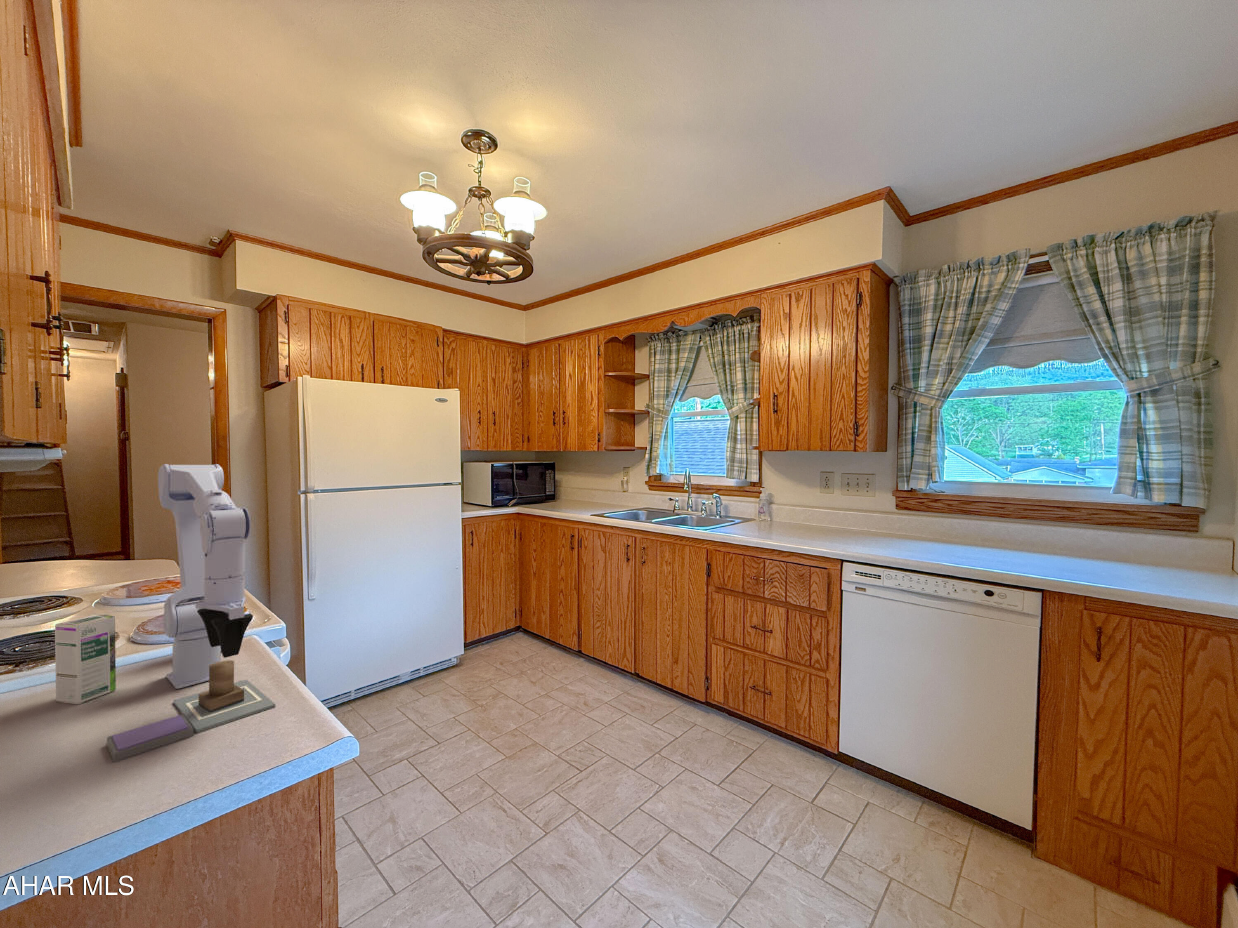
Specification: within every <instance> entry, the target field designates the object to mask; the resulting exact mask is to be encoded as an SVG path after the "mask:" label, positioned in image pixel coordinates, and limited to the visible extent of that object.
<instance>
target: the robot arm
mask: <svg viewBox="0 0 1238 928" xmlns="http://www.w3.org/2000/svg"><path fill="white" fill-rule="evenodd" d="M224 483H225V474H224V470H223V467H222V466H220V464H219V463H218V464H217V463H215V464H168V463H164V464H163V463H162V465H161V466H160V467H159V469H158V474H157V488H158V499H159V502H160V505H161V507H162V508H163V509H167V510H170V511H171V513H172V516H173V519H174V522H175V524H174V525H175V532H176V533H175V534H176V542H177V543H176V546H177V556H178V569H179V576H180V577H179V580H180V588H179V589H178V590H176V591H175V592H174V593H172V594H171V595H170V596H169V597H167V598H166V601H165V602H164V603H163V609H164V610H163V618H162V619H163V630H164V633H165V636H166V637H168V638H169V639H172V638H173V639H174V641H173V643H172V657H171V658H172V664H171V665H172V666H171V667H172V671H171V672H168V673H165V677H166V678H167V680H169V682H170V683H171V685H172V686H173V687H174V688H175V689H178V690H179V689H183V688H186V687H190V686H194V685H197V684H200V683H205V682H209V666H210V665H212V664H214V663H217V662H220V661H222V660H221V659H222V658H221V654H222V657H223V658H230V657H233V656H238V655H239V653H240V650H241V648H242V643H243V640H244V636H245V633H246V631H247V630H248V629H247V628H248V626H249V625H250V624H251V622H252V620H253V617H254V616H253V615H254V614H252V613H245V604H246V602H247V597H246V596H245V589H246V587H245V586H246V585H245V584H246V581H245V579H246V578H245V575H246V574H245V573H246V571H245V570H246V567H245V565H246V540H247V539H248V538H249V536H250V533H251V524H252V523H251V517H250V516H251V515H250V514H249V511H248V509H247V507H237V506H236V504H235V502H234V501H233V499H232V498H231V496H230V495H229V493H227V492H225V491H223V488H224ZM200 600H203V601H200Z"/></svg>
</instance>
